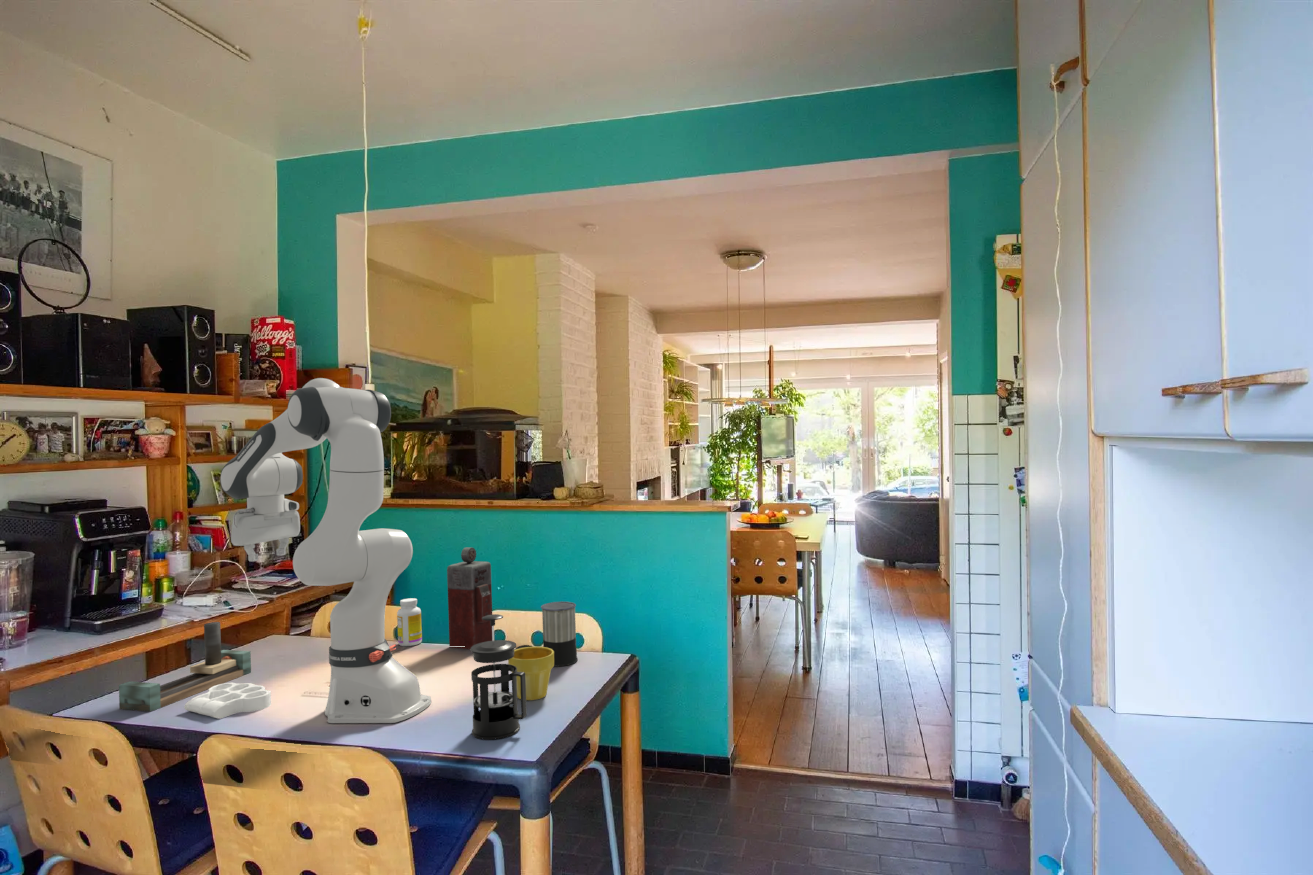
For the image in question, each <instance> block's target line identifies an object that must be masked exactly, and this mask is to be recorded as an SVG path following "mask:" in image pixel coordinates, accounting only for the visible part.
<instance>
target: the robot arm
mask: <svg viewBox="0 0 1313 875" xmlns="http://www.w3.org/2000/svg"><path fill="white" fill-rule="evenodd" d="M391 407H392V406H391V403H390V401H389V399H388V398H387V397H386V395H385V394H384V393H382V392H379V391H376V390H373V389H359V388H351V387H350V388H348V387H343V386H340V384H338V383H336V382H335V381H333V379H329V378H325V377H324V378H323V377H317V378H314V379H310V380H309V381H308V382H307V383H305V384H304V385H303V386H302V388H301V387H300V388H298V389H295V390H294V391H293V392H292V394H291V395H290V397H289V400H288V403H287V408H286V409H285V410H284V411H283V412H282V413H281V414H280V415H279V416H277V417H276V418H275V419H273V420H271V421H269V422H268V423H266V424H264V425H262V426H261V427H260V428H258V430H257V431H256V432H254V434H253V435H252V436H251V437H250V438H249V440H248V441H247V443H245V445H244V446H243V447H242V448H241V450H239V452H238V453H237V454H236V455H235V456H234V457H233V458H231V459H230V460H228V461H227V462H226V464H225V465H224V466H223V468H222V469H221V472H220V478H219V479H220V480H219V482H220V486H221V489H222V491H223V492H224V493H225V494H226V495H228V496H229V497H231V498H233V499H235V500H241V499H242V500H243V499H246V508H245V509H243V508H241V509H238V510H237V511H236V512H235V513H234V514H233V517H232V518H233V519H232V524H231V533H230V542H231V543H232V545H233V546H235V547H239V546H240V547H242V546H243V550H244V551H245V552H246V554H247V555H248V556H247V560H248V561H249V562H256V561H258V560H259V553H256V551H255V550H254V549H255V548H256V545H255V544H261V543H266V542H272V541H277V540H278V543H279V546H278V548H276V550H275V551H276V553H275V554H276V556H280V557H281V556H285V555H286V554H287V552H286V549H287V547H288V545H289V543H290V542H289V541H290V538H294V537H298V536H299V534H300V532H301V518H300V513H299V511H298V510H299V509H300V504H299V502H297V501H294V500H291V499H288V498H285V495H289V494H292V493H295V492H296V491H297V490H299V488H300V487H301V486H302V484H303V478H304V474H303V467H302V465H301V464H300V463H299V462H298V461H297V460H296V459H294V458H289V457H288V456H285V455H284V454H283V453H286V452H292V451H301V450H306V449H307V450H308V449H312V448H315V447H317V446H319V445H321V444H322V443H323V442H324V441H326V439H327V440H328V442H329V443H330V461H329V486H328V497H327V504H326V508H325V511H324V513H323V516H322V518H321V519H320V522H319V523H318V525H317V526H316V528H315V529H314V530H313V531H312V533H311V534H310V535H309V536H307V537H306V538H305V539H304V540H303V541H301V542H300V543H299V545H298V546H297V547H296V549H295V551H294V554H293V557H292V567H293V572H294V574H295V575H296V577H297V578H298V580H299V581H300V582H301V583H302V584H303V585H306V586H315V587H317V586H318V587H319V586H320V587H323V586H325V587H328V586H329V587H330V586H336V585H342V584H348V583H353V584H352V587H351V589H350V591H349V593H348V594H346V595H347V596H345V597H343V599H341V600H340V601H338V602H337V603H336V604H335V605H334V607H333V608H332V610H331V612H330V616H329V620H330V622H329V623H330V625H329V626H330V628H329V629H330V646H329V648H328V663H329V665H330V680H329V681H330V682H329V688H328V689H329V691H328V698H327V702H326V706H325V710H324V715H325V716H326V717H327V723H328V724H394V723H398V722H402V721H405V720H407V719H409V718H411V717H414V716H416V715H418V714H419V713H421V712H423V711H424V710H425V709H427V708H428V707H429V706H430V705H431V703H432V696H430V695H426V694H421V688H420V684H419V679H418V677H417V676H416V675H415V674H414V673H413V672H411V671H410V670H409V669H408V668H407V667H405V666H404V665H403V664H402V663H401V662H398V661H397V659H395V658H394V657H393V653H392V652H393V651H395V650H396V649H397V648H396V645H397V644H392V645H390V646H389V643H388V640H387V639H386V638H385V633H386V632H385V627H386V626H385V623H386V622H385V621H386V620H385V615H386V605H387V600H388V596H389V594H390V591H391V589H392V587H393V585H394V584H395V582H396V581H397V579H398V577H399V576H400V575H401V574H402V573H403V572H404V570H406V569H407V568H408V566H409V565H410V564H411V561H412V558H413V554H414V550H413V549H414V548H413V544H412V540H411V539H410V537H409V535H408V534H407V533H406V532H405V531H403V530H401V529H397V528H396V529H395V528H373V529H366V530H365V529H364V530H360V528H361V526H362V524H363V523H364V521H366V519H367V518H368V517H369V516H370V515H372V514H374V513H375V512H377V511H378V510H379V509H380V508H381V506H382V504H383V502H384V491H385V490H384V486H385V485H384V483H385V482H384V479H385V478H384V475H385V474H384V473H385V459H384V457H385V456H384V447H383V440H382V434H381V433H383V432H384V431H385V430H386V429H387V427H388V426H389V424H390V422H391V418H392V408H391ZM394 647H395V648H394Z"/></svg>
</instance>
